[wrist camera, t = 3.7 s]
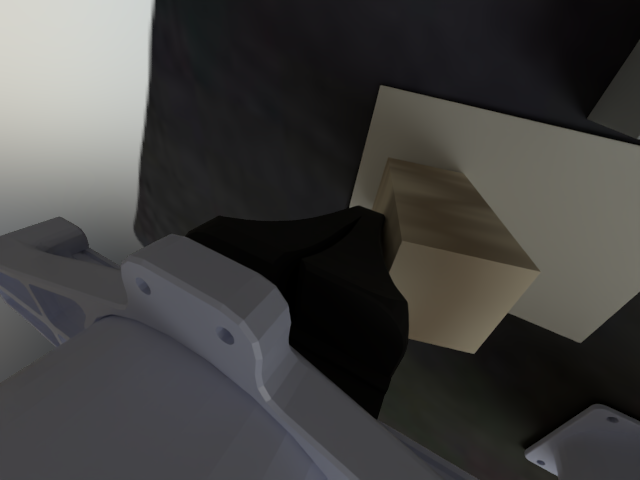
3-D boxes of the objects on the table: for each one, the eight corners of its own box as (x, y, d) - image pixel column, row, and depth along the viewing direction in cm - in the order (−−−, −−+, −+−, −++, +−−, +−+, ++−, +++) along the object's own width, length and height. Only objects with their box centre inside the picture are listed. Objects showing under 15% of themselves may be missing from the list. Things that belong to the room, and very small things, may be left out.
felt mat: (764, 174, 10) (770, 177, 10) (578, 339, 16) (580, 343, 16) (382, 85, 15) (380, 85, 14) (341, 240, 20) (340, 241, 20)
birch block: (463, 173, 15) (540, 272, 8) (433, 236, 17) (473, 353, 10) (387, 156, 15) (402, 240, 8) (367, 221, 17) (366, 328, 10)
